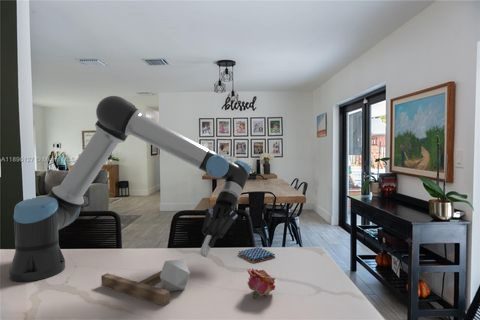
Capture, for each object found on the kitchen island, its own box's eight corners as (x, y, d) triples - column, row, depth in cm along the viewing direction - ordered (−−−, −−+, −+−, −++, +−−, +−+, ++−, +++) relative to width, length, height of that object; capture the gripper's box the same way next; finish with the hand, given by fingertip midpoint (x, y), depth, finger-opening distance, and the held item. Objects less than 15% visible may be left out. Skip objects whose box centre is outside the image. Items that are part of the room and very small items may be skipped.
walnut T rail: (101, 285, 89) (101, 275, 89) (143, 266, 103) (143, 258, 103) (164, 306, 77) (164, 294, 77) (201, 281, 91) (201, 271, 91)
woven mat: (258, 250, 120) (258, 245, 120) (276, 259, 111) (276, 253, 111) (236, 256, 114) (236, 250, 114) (253, 265, 105) (253, 259, 105)
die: (180, 300, 82) (197, 265, 85) (151, 285, 81) (170, 251, 85) (178, 297, 89) (194, 266, 93) (152, 284, 88) (169, 252, 92)
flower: (262, 303, 75) (274, 274, 78) (234, 287, 80) (246, 261, 82) (272, 308, 82) (282, 281, 85) (245, 294, 87) (256, 269, 90)
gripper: (247, 203, 113) (224, 263, 99) (218, 201, 119) (192, 256, 105) (240, 191, 108) (214, 252, 94) (210, 189, 114) (181, 246, 100)
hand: (202, 254), depth 100 cm, fingers closed
